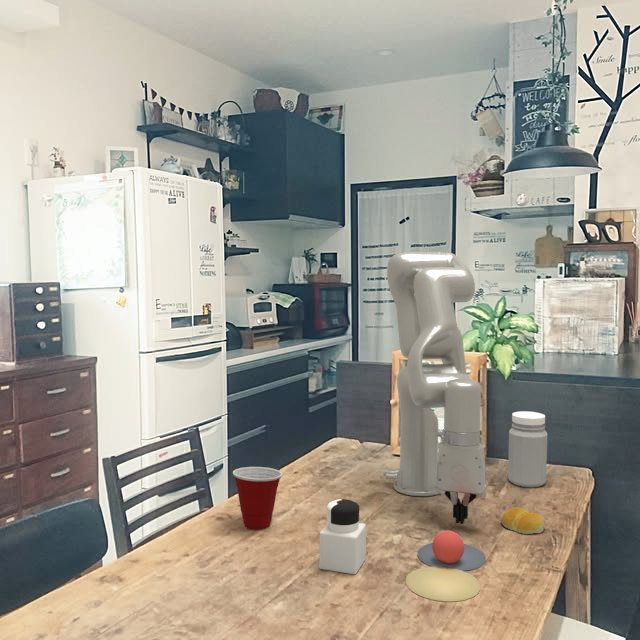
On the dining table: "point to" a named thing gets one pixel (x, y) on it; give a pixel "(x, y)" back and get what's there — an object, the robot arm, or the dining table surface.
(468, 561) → the smooth gray rounded object
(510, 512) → the bread roll
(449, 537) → the ball
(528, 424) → the jar
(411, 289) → the robot arm
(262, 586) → the dining table surface
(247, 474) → the plastic cup
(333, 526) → the medicine bottle
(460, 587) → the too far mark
